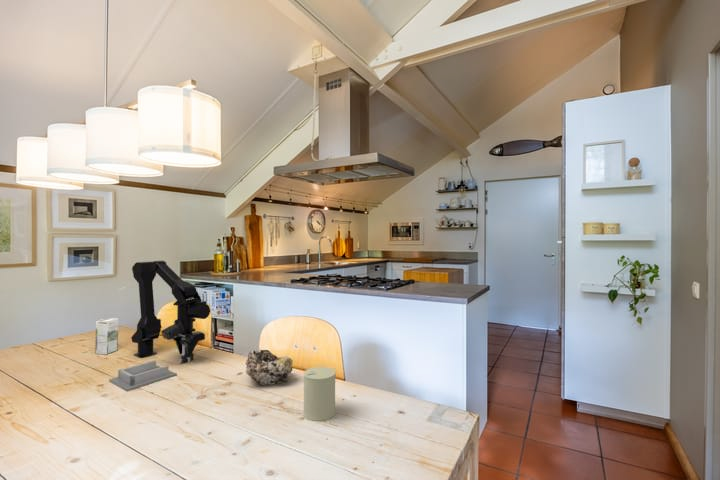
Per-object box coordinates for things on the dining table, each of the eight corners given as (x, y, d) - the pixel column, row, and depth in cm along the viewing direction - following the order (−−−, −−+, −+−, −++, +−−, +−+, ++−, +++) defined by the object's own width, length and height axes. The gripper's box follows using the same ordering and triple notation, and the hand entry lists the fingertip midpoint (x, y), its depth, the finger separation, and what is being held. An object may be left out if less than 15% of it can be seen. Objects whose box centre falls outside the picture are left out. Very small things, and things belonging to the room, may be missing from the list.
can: (299, 408, 99) (300, 367, 99) (329, 402, 103) (330, 363, 103) (307, 424, 91) (308, 379, 91) (340, 417, 94) (340, 374, 94)
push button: (183, 365, 132) (183, 340, 132) (172, 363, 134) (173, 338, 134) (196, 360, 139) (197, 335, 138) (186, 358, 140) (187, 334, 140)
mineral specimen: (257, 370, 128) (257, 344, 128) (300, 376, 123) (300, 348, 123) (231, 387, 113) (231, 357, 113) (278, 394, 108) (279, 363, 108)
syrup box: (106, 349, 150) (107, 317, 150) (118, 350, 150) (118, 317, 150) (94, 354, 145) (95, 320, 145) (107, 354, 144) (107, 320, 144)
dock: (109, 381, 117) (109, 370, 117) (157, 367, 130) (157, 357, 130) (127, 391, 109) (127, 380, 109) (176, 375, 123) (177, 365, 123)
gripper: (152, 317, 135) (152, 356, 135) (177, 324, 124) (177, 366, 124) (180, 312, 144) (180, 349, 144) (205, 318, 134) (205, 357, 134)
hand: (185, 355), depth 136 cm, fingers closed on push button, 5 cm apart
